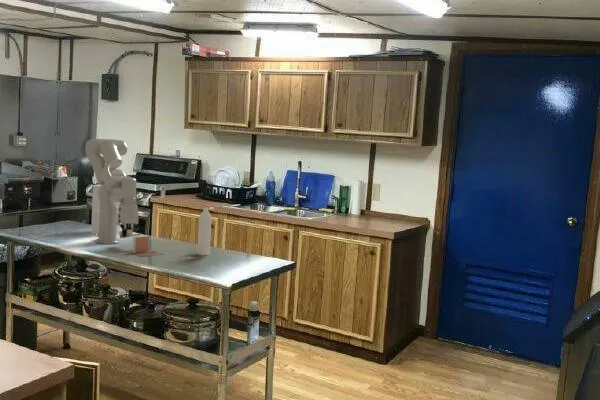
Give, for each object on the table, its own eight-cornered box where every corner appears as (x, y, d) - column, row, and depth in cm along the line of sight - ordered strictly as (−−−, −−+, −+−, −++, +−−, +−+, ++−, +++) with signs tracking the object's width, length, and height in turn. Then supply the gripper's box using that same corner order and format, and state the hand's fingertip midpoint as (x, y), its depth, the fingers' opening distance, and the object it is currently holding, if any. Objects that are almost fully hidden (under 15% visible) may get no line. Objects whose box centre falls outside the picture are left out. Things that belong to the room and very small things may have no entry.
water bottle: (203, 256, 327) (205, 209, 325) (194, 254, 331) (197, 207, 329) (215, 254, 334) (217, 208, 331) (206, 252, 338) (209, 206, 335)
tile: (132, 252, 319) (133, 236, 318) (146, 250, 325) (146, 235, 324) (134, 252, 318) (135, 237, 317) (148, 251, 324) (149, 236, 323)
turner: (117, 238, 330) (116, 231, 331) (126, 237, 334) (125, 230, 335) (131, 236, 322) (130, 229, 322) (140, 235, 326) (139, 228, 326)
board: (123, 254, 320) (123, 251, 320) (146, 251, 330) (146, 248, 330) (141, 260, 309) (141, 257, 309) (164, 257, 320) (164, 254, 320)
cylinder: (91, 230, 379) (92, 183, 376) (121, 230, 385) (123, 185, 382) (91, 235, 363) (92, 187, 360) (122, 235, 368) (124, 188, 365)
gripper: (118, 202, 319) (117, 238, 321) (145, 201, 331) (144, 236, 333) (110, 201, 324) (109, 236, 326) (137, 200, 336) (136, 234, 338)
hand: (127, 236), depth 329 cm, fingers closed on turner, 2 cm apart
